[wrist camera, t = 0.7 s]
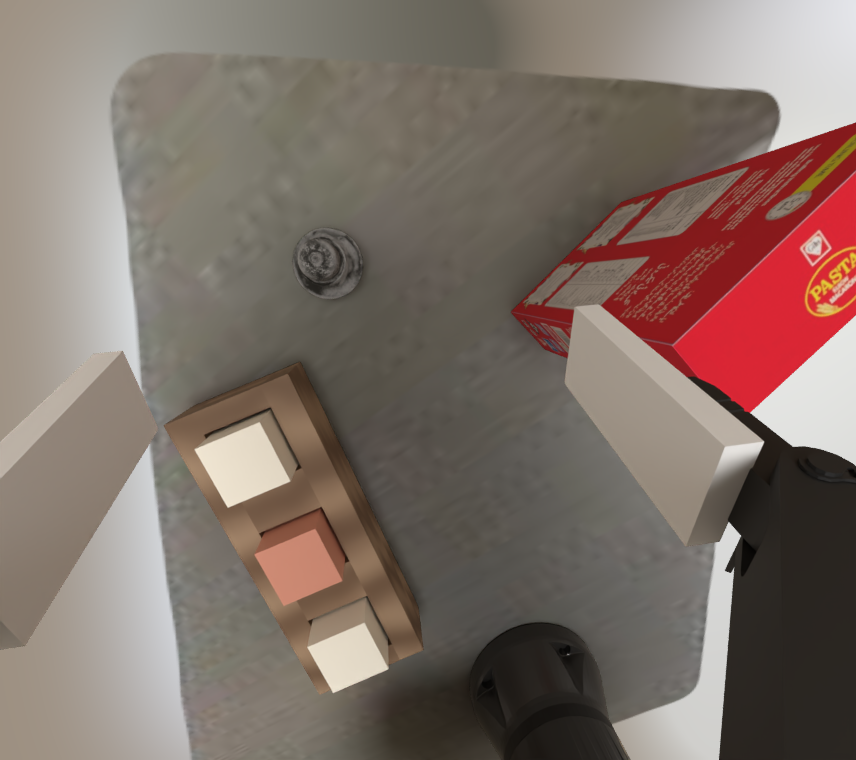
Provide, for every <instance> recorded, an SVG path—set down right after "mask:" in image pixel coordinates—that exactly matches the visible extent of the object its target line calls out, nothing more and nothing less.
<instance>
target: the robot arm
mask: <svg viewBox="0 0 856 760" xmlns="http://www.w3.org/2000/svg"><path fill="white" fill-rule="evenodd" d="M564 383H565V385H566V386H567V387H568V389H569V390H570V391H571V393H572V394H573V395H574V397H575V398H576V399H577V401H578V402H579V403H580V405H581V406H582V407H583V409H584V410H585V412H586V413H587V414H588V416H589V417H590V418H591V420H592V421H593V422H594V424H595V425H596V426H597V428H598V429H599V430H600V432H601V433H602V434H603V436H604V437H605V438H606V440H607V441H608V442H609V444H610V445H611V447H612V448H613V449H614V451H615V452H616V453H617V455H618V456H619V457H620V459H621V460H622V461H623V463H624V464H625V465H626V467H627V468H628V469H629V471H630V472H631V473H632V475H633V476H634V477H635V479H636V480H637V482H638V483H639V484H640V486H641V487H642V488H643V490H644V491H645V492H646V494H647V495H648V496H649V498H650V499H651V500H652V502H653V503H654V504H655V506H656V507H657V508H658V510H659V511H660V513H661V514H662V515H663V517H664V518H665V519H666V521H667V522H668V523H669V525H670V526H671V527H672V529H673V530H674V531H675V533H676V534H677V535H678V537H679V538H680V539H681V541H682V542H683V543H684V545H685V546H686V547H687V546H694V545H701V544H707V543H714V542H719V541H720V539H721V537H722V535H723V533H724V531H725V528H726V526H727V524H728V522H730V523H731V525H732V526H733V527H734V528H735V529H736V530H737V531H738V533H739V534H740V535H741V538H740V540H739V542H738V544H737V546H736V548H735V551H734V552H733V555H732V556H731V558H730V561H729V563H728V565H727V567H726V569H725V571H727V572H729V573H731V572H732V570H733V568H734V579H733V591H732V604H731V616H730V630H729V641H728V655H727V666H726V680H725V691H724V704H723V716H722V729H721V741H720V742H721V743H720V754H719V760H856V466H855V465H854V464H853V463H851V462H849V461H847V460H845V459H843V458H842V457H840V456H838V455H836V454H833V453H830V452H827V451H824V450H821V449H816V448H810V447H792V446H791V445H790V444H788V443H787V442H786V441H785V440H783V439H782V438H781V437H780V436H778V435H777V434H776V433H774V432H773V431H772V430H771V429H769V428H768V427H767V426H766V425H764V424H763V423H762V422H761V421H759V420H758V419H757V418H755V417H754V416H753V415H752V414H750V413H749V412H748V411H746V412H745V411H744V408H743V407H741V406H740V405H739V404H738V403H736V402H735V401H731V398H730V397H729V396H728V395H726V394H725V393H724V392H722V391H721V390H720V389H719V388H717V387H716V386H714V385H712V384H710V383H708V382H706V381H703V380H701V379H699V378H697V377H695V376H692V377H686V376H685V375H683V374H682V373H681V372H680V371H679V370H677V369H676V368H675V367H674V366H673V365H671V364H670V363H669V362H668V361H667V360H665V359H664V358H663V357H662V356H661V355H659V354H658V353H657V352H656V351H654V350H653V349H652V348H651V347H650V346H648V345H647V344H646V343H645V342H644V341H642V340H641V339H640V338H639V337H638V336H636V335H635V334H634V333H633V332H632V331H630V330H629V329H628V328H627V327H626V326H624V325H623V324H622V323H621V322H619V321H618V320H617V319H616V318H615V317H613V316H612V315H611V314H610V313H609V312H607V311H606V310H605V309H604V308H603V307H601V306H600V305H599V304H597V305H587V306H577V307H575V308H574V316H573V323H572V331H571V338H570V345H569V353H568V360H567V368H566V375H565V382H564ZM157 431H158V427H157V425H156V422H155V420H154V418H153V416H152V414H151V412H150V409H149V407H148V405H147V403H146V401H145V398H144V396H143V394H142V392H141V390H140V388H139V385H138V383H137V381H136V379H135V377H134V374H133V372H132V370H131V368H130V366H129V364H128V361H127V359H126V357H125V355H124V353H123V351H117V352H108V353H96V354H93V355H92V356H91V357H90V358H89V359H88V360H87V361H86V362H85V363H83V365H81V366H80V367H79V368H78V369H77V370H76V371H75V372H74V373H73V374H72V375H71V376H70V377H69V378H68V379H66V380H65V381H64V383H62V384H61V385H60V386H59V387H58V388H57V389H56V390H55V391H54V392H53V393H52V394H51V395H49V396H48V397H47V398H46V399H45V400H44V401H43V402H42V403H41V404H40V405H39V406H38V407H37V408H36V409H35V410H34V411H32V413H31V414H29V415H28V416H27V417H26V418H25V419H24V420H23V421H22V422H21V423H20V424H19V425H18V426H17V427H15V428H14V429H13V430H12V431H11V432H10V433H9V434H8V435H7V436H6V437H5V438H4V439H3V440H2V441H1V442H0V650H1V649H8V648H15V647H21V646H25V645H26V644H27V642H28V640H29V639H30V637H31V635H32V634H33V632H34V630H35V629H36V627H37V626H38V624H39V622H40V621H41V619H42V617H43V616H44V614H45V613H46V611H47V609H48V608H49V606H50V604H51V603H52V601H53V600H54V598H55V596H56V595H57V593H58V591H59V590H60V588H61V587H62V585H63V583H64V582H65V580H66V579H67V577H68V575H69V574H70V572H71V570H72V569H73V567H74V566H75V564H76V562H77V561H78V559H79V557H80V556H81V554H82V552H83V551H84V549H85V548H86V546H87V544H88V543H89V541H90V539H91V538H92V536H93V535H94V533H95V531H96V530H97V528H98V527H99V525H100V523H101V522H102V520H103V518H104V517H105V515H106V514H107V512H108V510H109V509H110V507H111V505H112V504H113V502H114V501H115V499H116V497H117V496H118V494H119V492H120V491H121V489H122V487H123V486H124V484H125V483H126V481H127V479H128V478H129V476H130V474H131V473H132V471H133V470H134V468H135V466H136V464H137V463H138V462H139V460H140V458H141V457H142V455H143V453H144V452H145V450H146V449H147V447H148V445H149V444H150V442H151V440H152V439H153V437H154V436H155V434H156V432H157ZM470 695H471V699H472V704H473V708H474V712H475V715H476V718H477V720H478V722H479V724H480V726H481V727H482V729H483V731H484V732H485V734H486V736H487V737H488V739H489V740H490V742H491V744H492V745H493V747H494V748H495V750H496V752H497V753H498V755H499V757H500V758H501V760H630V758H629V756H628V754H627V752H626V751H625V749H624V747H623V745H622V743H621V741H620V739H619V738H618V736H617V734H616V732H615V730H614V728H613V726H612V724H611V722H610V720H609V717H608V712H607V706H606V701H605V696H604V691H603V686H602V680H601V675H600V672H599V669H598V666H597V664H596V662H595V660H594V658H593V656H592V654H591V653H590V651H589V649H588V647H587V646H586V644H585V643H584V642H583V640H582V639H581V638H580V637H578V636H577V635H576V634H575V633H573V632H571V631H570V630H568V629H566V628H563V627H560V626H557V625H552V624H530V625H525V626H521V627H517V628H515V629H512V630H510V631H508V632H506V633H504V634H502V635H501V636H499V637H498V638H496V639H495V640H494V641H492V642H491V643H490V644H489V645H488V646H487V647H486V648H485V649H484V650H483V652H482V653H481V654H480V656H479V657H478V659H477V660H476V662H475V664H474V667H473V669H472V672H471V676H470Z"/></svg>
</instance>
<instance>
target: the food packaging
mask: <svg viewBox="0 0 856 760" xmlns="http://www.w3.org/2000/svg"><path fill="white" fill-rule="evenodd" d="M597 304H599V305H600V306H601V307H603V308H604V309H605V310H606V311H607V312H609V313H610V314H611V315H612V316H613V317H615V318H616V319H617V320H618V321H619V322H621V323H622V324H623V325H624V326H626V327H627V328H628V329H629V330H630V331H632V332H633V333H634V334H635V335H636V336H638V337H639V338H640V339H641V340H642V341H644V342H645V343H646V344H647V345H648V346H650V347H651V348H652V349H653V350H654V351H656V352H657V353H658V354H659V355H661V356H662V357H663V358H664V359H665V360H667V361H668V362H669V363H670V364H671V365H673V366H674V367H675V368H676V369H677V370H679V371H680V372H681V373H682V374H683V375H685V376H686V377H692V376H695V377H697V378H699V379H701V380H703V381H706V382H708V383H710V384H712V385H714V386H716V387H717V388H719V389H720V390H721V391H722V392H724V393H725V394H726V395H728V396H729V397H730V398H731V401H735V402H736V403H738V404H739V405H740V406H741V407H743V408H744V411H745V412H746V411H748V412H749V413H750V412H751V411H752V410H753V409H754V408H755V407H757V406H758V405H759V404H760V403H761V402H762V401H763V400H764V399H765V398H766V397H768V396H769V395H770V394H771V393H772V392H773V391H774V390H775V389H776V388H777V387H778V386H779V385H781V384H782V383H783V382H784V381H785V380H786V379H787V378H788V377H789V376H790V375H791V374H792V373H794V372H795V371H796V370H797V369H798V368H799V367H800V366H801V365H802V364H803V363H804V362H805V361H806V360H808V358H810V357H811V356H812V355H813V354H814V353H815V352H816V351H817V350H819V349H820V348H821V347H822V346H823V345H824V344H825V343H826V342H827V341H828V340H829V339H830V338H832V337H833V336H834V335H835V334H836V333H837V332H838V331H839V330H840V329H841V328H842V327H843V326H844V325H846V324H847V323H848V322H849V321H850V320H851V319H852V318H853V317H854V316H855V315H856V123H853V124H850V125H847V126H844V127H841V128H838V129H835V130H833V131H829V132H827V133H824V134H821V135H818V136H815V137H812V138H809V139H806V140H803V141H800V142H797V143H794V144H791V145H788V146H785V147H782V148H779V149H777V150H774V151H771V152H768V153H765V154H762V155H759V156H756V157H753V158H750V159H747V160H744V161H741V162H738V163H735V164H732V165H729V166H727V167H724V168H721V169H718V170H715V171H712V172H709V173H706V174H703V175H700V176H697V177H694V178H691V179H688V180H685V181H682V182H679V183H677V184H674V185H671V186H668V187H665V188H662V189H659V190H656V191H653V192H650V193H647V194H644V195H641V196H638V197H635V198H632V199H630V200H627V201H624V202H621V203H620V204H619V205H618V206H617V207H616V208H615V209H614V210H613V211H612V212H611V213H610V214H609V215H608V216H607V217H606V218H605V219H604V220H603V221H602V222H601V223H600V224H599V225H598V226H597V227H596V228H595V229H594V230H593V231H592V232H591V233H590V234H589V235H588V236H587V237H586V238H585V239H584V240H583V241H582V242H581V243H580V244H579V245H578V246H577V247H576V248H575V249H574V250H573V251H572V252H571V253H570V254H569V255H568V256H567V257H566V258H565V259H564V260H563V261H562V262H561V263H560V264H559V265H558V266H557V267H556V268H555V269H554V270H553V271H552V272H551V273H550V274H549V275H548V276H547V277H545V278H544V279H543V280H542V281H541V282H540V283H539V284H538V285H537V286H536V287H535V288H534V289H533V290H532V291H531V292H530V293H529V294H528V295H527V296H526V297H525V298H524V299H523V300H522V301H521V302H520V303H519V304H518V305H517V306H516V307H515V308H514V309H513V310H512V311H511V313H512V314H513V315H514V316H515V318H516V319H517V320H518V321H519V322H520V323H521V324H522V325H523V326H524V327H525V328H526V329H527V331H528V332H529V333H530V334H531V335H532V336H533V337H534V338H535V339H536V340H537V341H538V342H539V344H540V345H541V346H542V347H543V348H544V349H545V350H548V351H550V352H553V353H555V354H558V355H561V356H563V357H566V358H568V353H569V345H570V338H571V331H572V323H573V316H574V308H575V307H577V306H587V305H597Z"/></svg>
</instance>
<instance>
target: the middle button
mask: <svg viewBox="0 0 856 760" xmlns="http://www.w3.org/2000/svg"><path fill="white" fill-rule="evenodd" d="M254 555H255V557H256V558H257V560H258V562H259V564H260V565H261V567H262V569H263V571H264V572H265V574H266V576H267V578H268V579H269V581H270V583H271V585H272V586H273V588H274V590H275V592H276V593H277V595H278V597H279V599H280V600H281V602H282V604H283V606H285V605H287V604H290V603H292V602H294V601H297V600H299V599H301V598H304V597H306V596H308V595H311V594H313V593H315V592H318V591H320V590H322V589H325V588H327V587H329V586H332V585H334V584H337V583H339V582H341V581H343V573H344V565H345V557H346V553H345V551H344V549H343V548H342V546H341V544H340V542H339V540H338V538H337V536H336V534H335V532H334V530H333V528H332V526H331V524H330V522H329V520H328V518H327V516H326V514H325V512H324V510H323V508H322V507H320V508H318V509H315V510H313V511H310V512H308V513H306V514H303V515H301V516H299V517H296V518H294V519H291V520H289V521H287V522H284V523H282V524H280V525H277V526H275V527H273V528H270V529H268V530H265V533H264V535H263V537H262V539H261V541H260V543H259V546H258V548H257V550H256V552H255V554H254Z"/></svg>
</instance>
